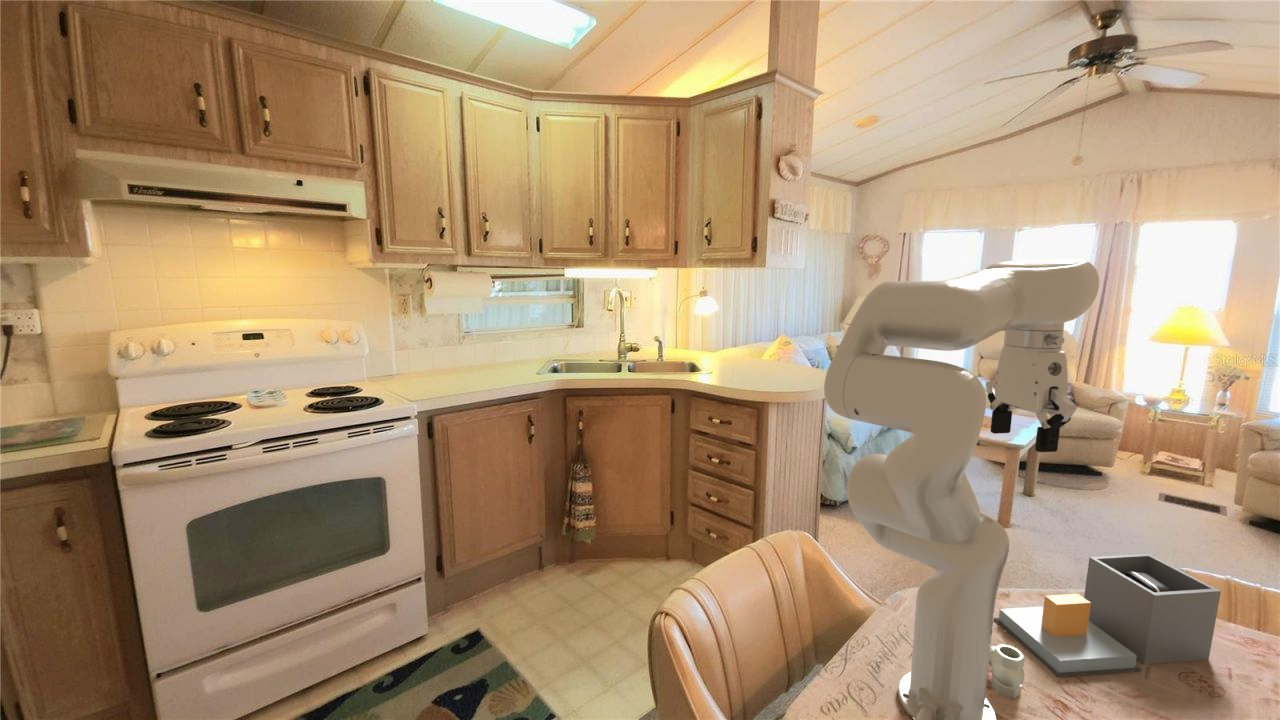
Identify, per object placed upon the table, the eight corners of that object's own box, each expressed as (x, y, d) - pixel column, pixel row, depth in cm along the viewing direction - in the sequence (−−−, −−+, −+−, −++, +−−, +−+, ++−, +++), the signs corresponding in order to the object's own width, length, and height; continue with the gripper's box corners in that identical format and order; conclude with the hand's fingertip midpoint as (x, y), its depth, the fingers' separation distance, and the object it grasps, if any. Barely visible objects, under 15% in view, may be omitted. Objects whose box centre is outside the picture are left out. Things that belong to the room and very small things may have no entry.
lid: (1058, 672, 83) (1064, 626, 82) (998, 619, 96) (1002, 579, 95) (1135, 667, 84) (1142, 622, 83) (1065, 615, 97) (1070, 575, 95)
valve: (1036, 701, 79) (987, 645, 91) (1041, 662, 78) (990, 610, 89) (992, 700, 79) (948, 645, 91) (996, 662, 78) (951, 610, 90)
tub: (1143, 664, 85) (1154, 595, 83) (1081, 619, 96) (1089, 557, 94) (1208, 659, 86) (1220, 591, 84) (1138, 615, 97) (1148, 553, 95)
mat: (1058, 677, 83) (1058, 675, 83) (993, 619, 97) (994, 618, 97) (1140, 671, 84) (1140, 669, 84) (1064, 615, 98) (1065, 613, 97)
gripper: (1104, 346, 76) (1090, 458, 78) (1013, 333, 93) (1004, 426, 95) (1055, 348, 75) (1042, 460, 78) (973, 334, 92) (965, 427, 95)
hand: (1021, 441), depth 87 cm, fingers open, 9 cm apart
